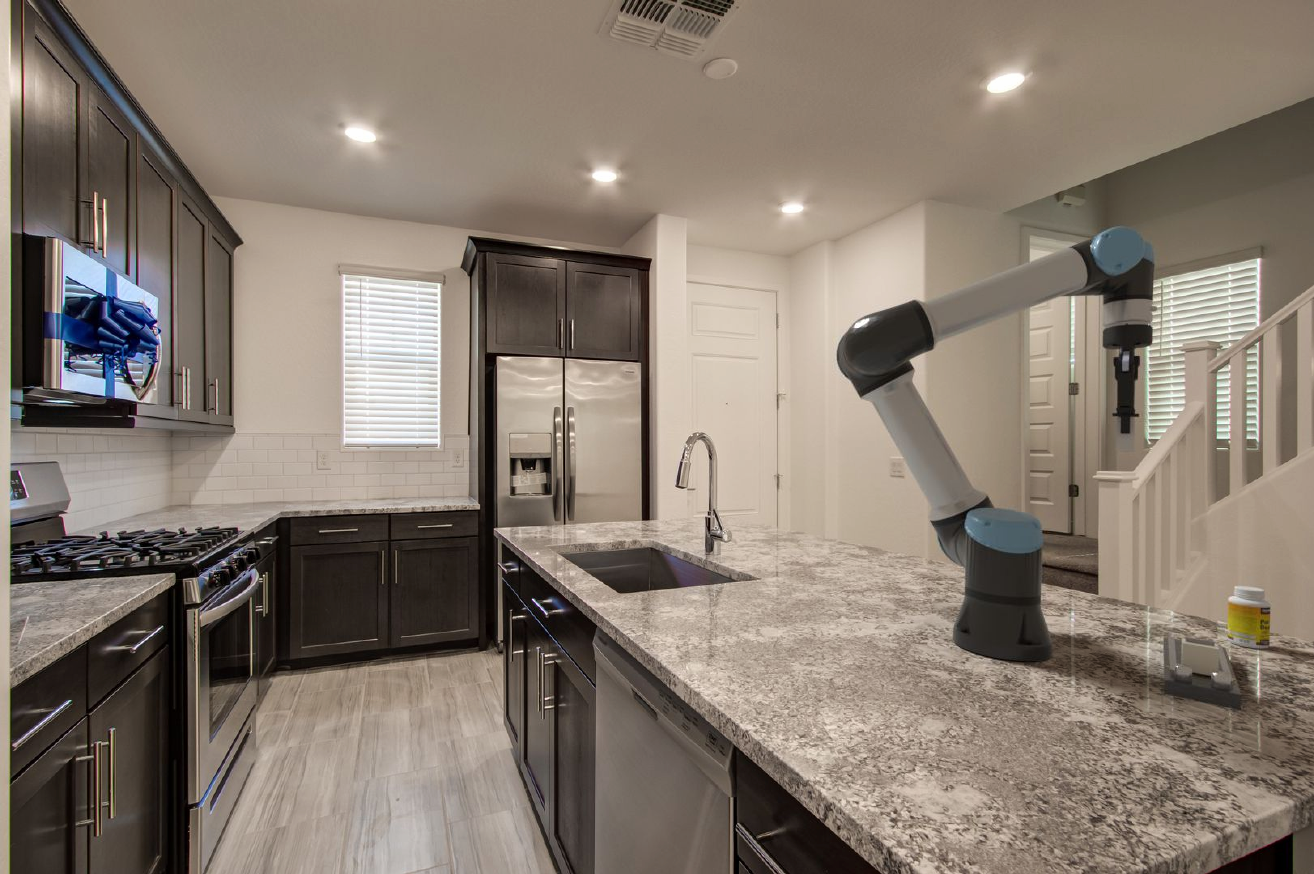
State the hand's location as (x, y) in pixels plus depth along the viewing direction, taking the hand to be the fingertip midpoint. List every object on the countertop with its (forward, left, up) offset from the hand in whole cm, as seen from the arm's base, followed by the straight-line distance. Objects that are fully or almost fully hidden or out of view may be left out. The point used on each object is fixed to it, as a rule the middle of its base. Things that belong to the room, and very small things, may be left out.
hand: (1125, 451), depth 117 cm
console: (+10, -18, -34) cm, 40 cm away
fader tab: (+10, -24, -32) cm, 41 cm away
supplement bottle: (+18, +9, -35) cm, 40 cm away
